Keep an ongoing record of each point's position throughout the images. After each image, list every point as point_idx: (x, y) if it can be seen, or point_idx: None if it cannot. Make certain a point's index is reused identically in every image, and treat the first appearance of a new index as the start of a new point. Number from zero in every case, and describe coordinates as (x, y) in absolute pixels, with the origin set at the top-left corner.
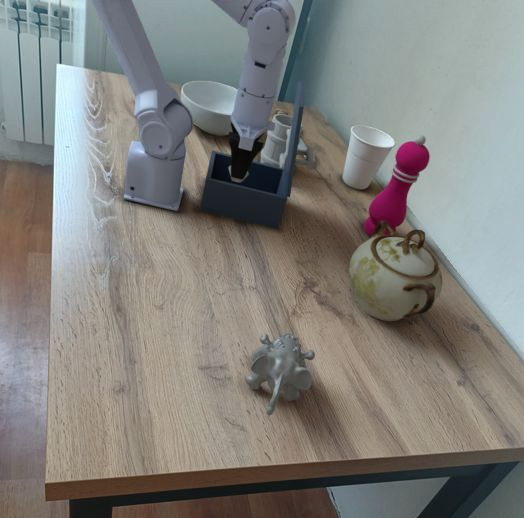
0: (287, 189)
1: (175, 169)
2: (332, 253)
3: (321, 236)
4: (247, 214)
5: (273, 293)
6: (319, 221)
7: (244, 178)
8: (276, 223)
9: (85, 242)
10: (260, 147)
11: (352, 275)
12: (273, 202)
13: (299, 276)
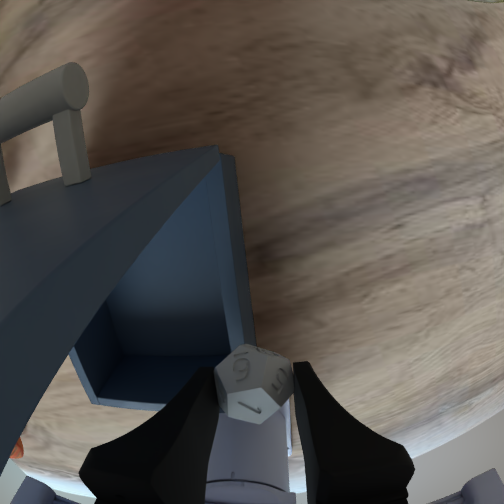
0: (214, 164)
1: (273, 466)
2: (275, 9)
3: (204, 39)
4: (243, 256)
5: (485, 159)
6: (131, 58)
7: (255, 348)
8: (233, 165)
9: (415, 441)
10: (411, 465)
11: (492, 1)
12: (229, 199)
13: (418, 95)
